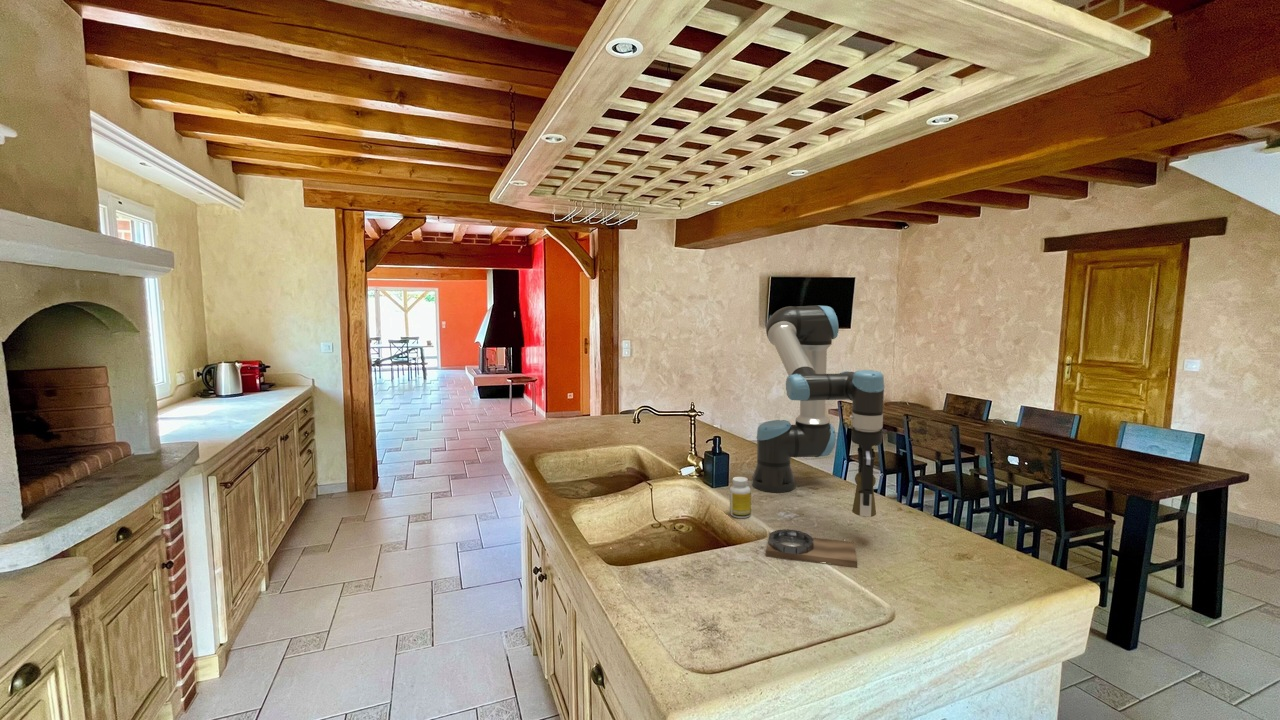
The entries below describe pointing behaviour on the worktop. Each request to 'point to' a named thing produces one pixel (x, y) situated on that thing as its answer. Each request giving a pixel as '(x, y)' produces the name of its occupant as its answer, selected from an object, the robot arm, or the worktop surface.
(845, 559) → the walnut board
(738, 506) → the pill bottle
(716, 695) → the worktop surface
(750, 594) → the worktop surface
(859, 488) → the cork
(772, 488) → the robot arm
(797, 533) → the ring holder
